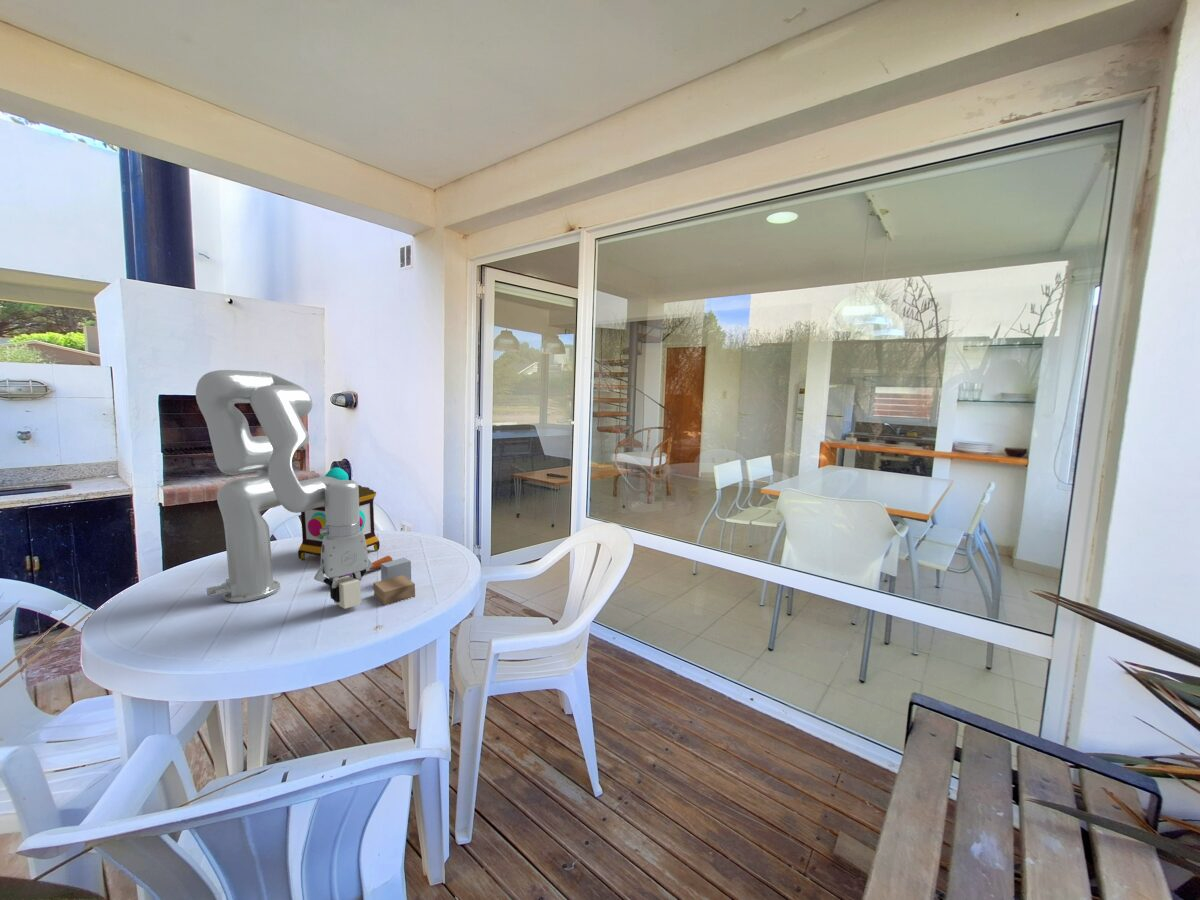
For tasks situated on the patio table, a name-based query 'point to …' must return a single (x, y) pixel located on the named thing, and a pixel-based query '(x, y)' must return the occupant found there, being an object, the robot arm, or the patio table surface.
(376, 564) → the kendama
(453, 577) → the patio table surface
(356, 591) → the cream brick
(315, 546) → the decorative lantern
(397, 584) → the walnut block
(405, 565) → the slate grey brick
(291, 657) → the patio table surface
